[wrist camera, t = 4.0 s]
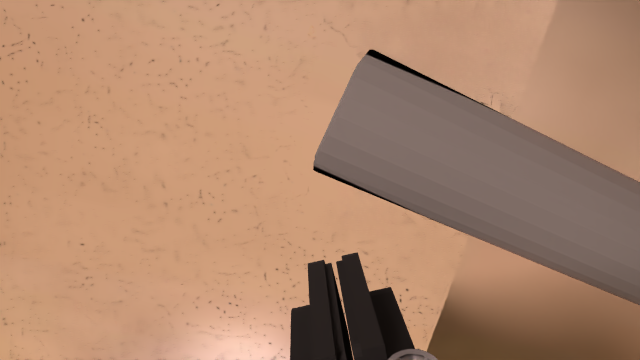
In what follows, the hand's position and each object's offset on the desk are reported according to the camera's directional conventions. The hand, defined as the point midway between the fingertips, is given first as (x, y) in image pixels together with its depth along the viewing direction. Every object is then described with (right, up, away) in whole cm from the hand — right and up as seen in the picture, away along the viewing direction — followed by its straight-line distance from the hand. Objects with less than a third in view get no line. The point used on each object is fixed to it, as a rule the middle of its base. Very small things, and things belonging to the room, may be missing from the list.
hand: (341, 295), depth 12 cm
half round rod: (+8, +3, +1) cm, 9 cm away
